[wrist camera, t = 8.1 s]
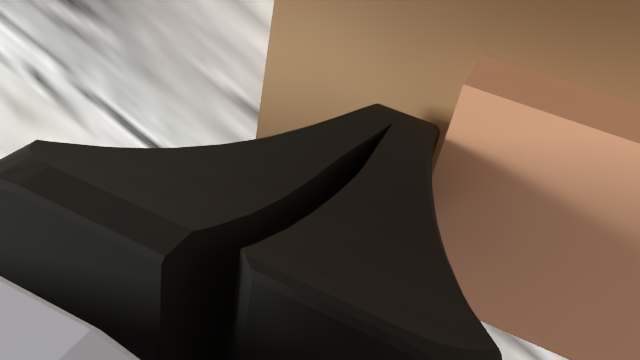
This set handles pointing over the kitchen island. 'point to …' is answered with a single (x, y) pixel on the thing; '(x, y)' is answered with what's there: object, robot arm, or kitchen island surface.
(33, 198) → the robot arm
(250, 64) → the kitchen island surface
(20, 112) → the kitchen island surface
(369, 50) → the walnut board
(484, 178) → the tile
